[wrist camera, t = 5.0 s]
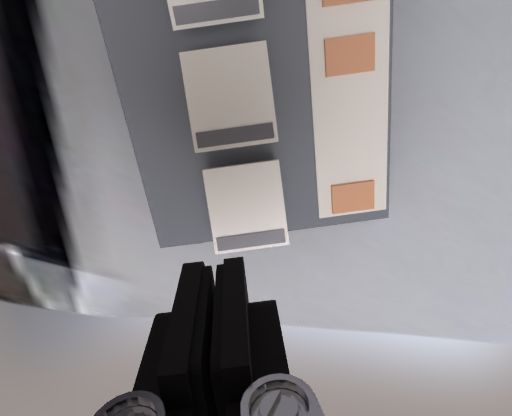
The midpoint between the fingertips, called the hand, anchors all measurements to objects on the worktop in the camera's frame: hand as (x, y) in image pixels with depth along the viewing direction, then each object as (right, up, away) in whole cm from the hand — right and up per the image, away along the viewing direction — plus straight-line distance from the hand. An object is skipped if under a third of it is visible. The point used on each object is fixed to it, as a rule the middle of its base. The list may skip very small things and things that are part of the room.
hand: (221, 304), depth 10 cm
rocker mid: (0, +9, +9) cm, 12 cm away
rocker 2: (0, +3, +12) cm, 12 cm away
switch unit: (+1, +11, +15) cm, 19 cm away
